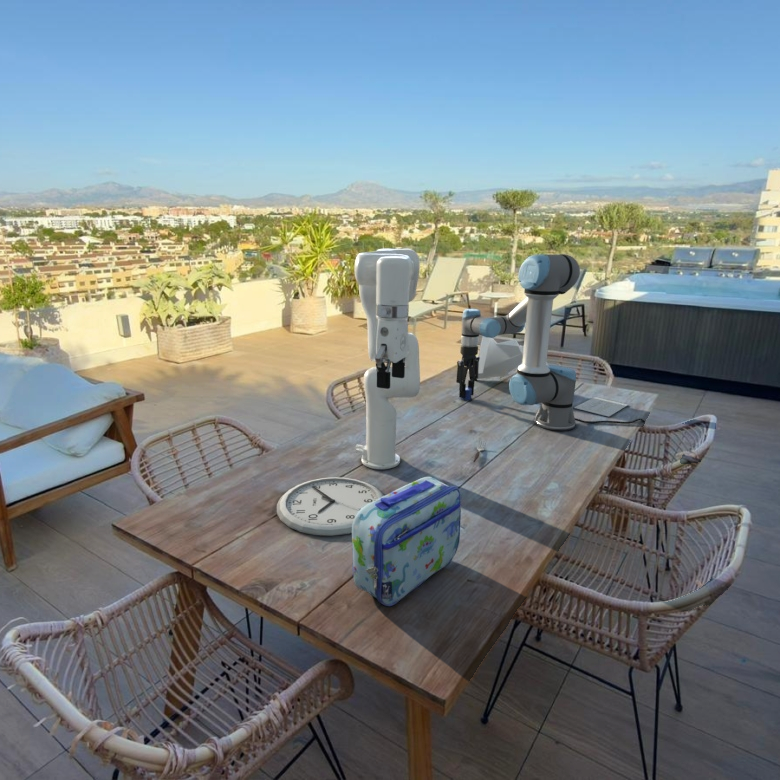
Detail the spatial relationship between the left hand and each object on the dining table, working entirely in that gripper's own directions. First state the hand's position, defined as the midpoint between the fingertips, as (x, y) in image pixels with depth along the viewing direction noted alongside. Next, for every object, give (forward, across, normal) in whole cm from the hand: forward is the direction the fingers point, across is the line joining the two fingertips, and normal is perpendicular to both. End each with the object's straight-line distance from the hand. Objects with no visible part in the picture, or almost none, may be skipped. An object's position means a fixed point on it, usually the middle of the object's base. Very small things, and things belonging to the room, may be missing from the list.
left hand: (391, 382), depth 126 cm
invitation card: (+37, +120, -52) cm, 136 cm away
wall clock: (+37, 0, +16) cm, 41 cm away
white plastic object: (+37, +134, -9) cm, 139 cm away
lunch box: (+37, -21, -13) cm, 45 cm away
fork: (+37, +49, -13) cm, 63 cm away
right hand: (+36, +106, +5) cm, 112 cm away
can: (+37, +106, +5) cm, 113 cm away
